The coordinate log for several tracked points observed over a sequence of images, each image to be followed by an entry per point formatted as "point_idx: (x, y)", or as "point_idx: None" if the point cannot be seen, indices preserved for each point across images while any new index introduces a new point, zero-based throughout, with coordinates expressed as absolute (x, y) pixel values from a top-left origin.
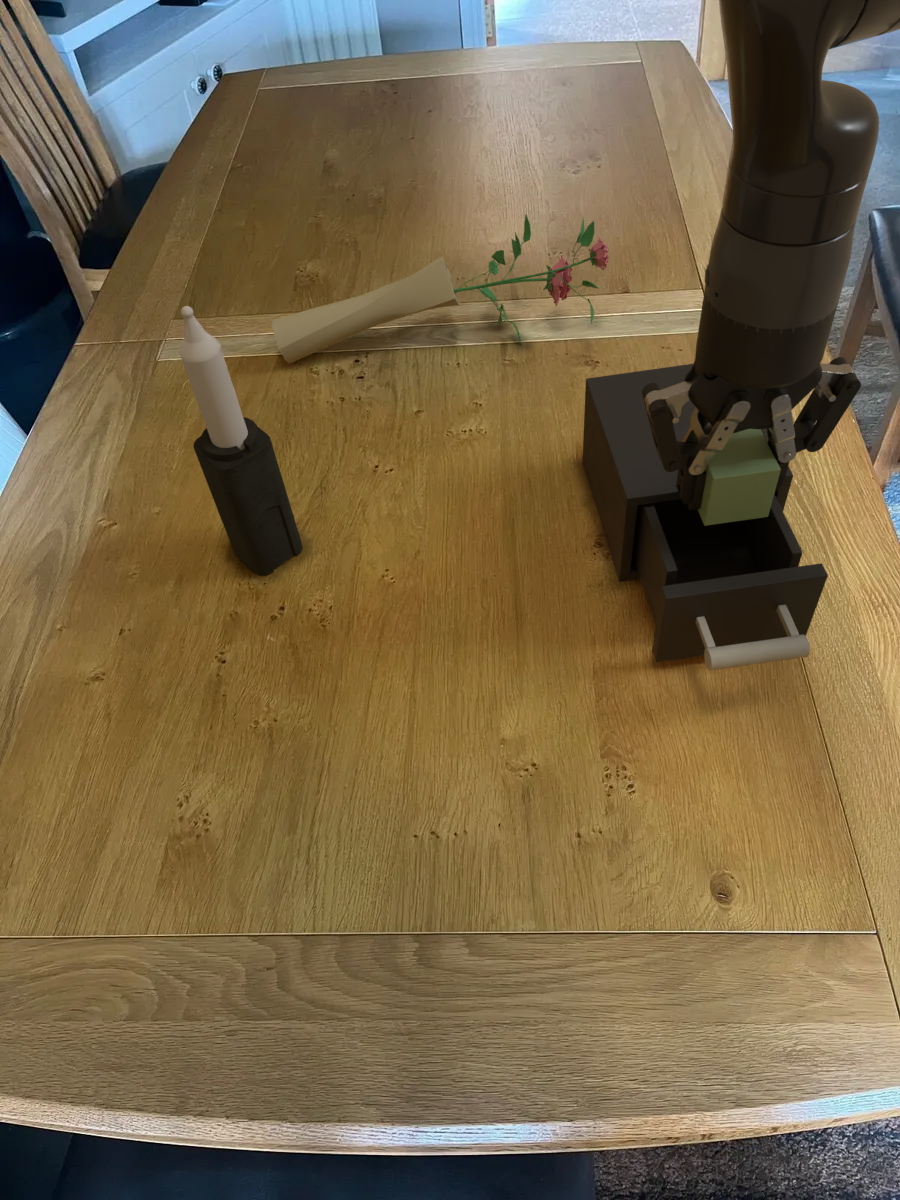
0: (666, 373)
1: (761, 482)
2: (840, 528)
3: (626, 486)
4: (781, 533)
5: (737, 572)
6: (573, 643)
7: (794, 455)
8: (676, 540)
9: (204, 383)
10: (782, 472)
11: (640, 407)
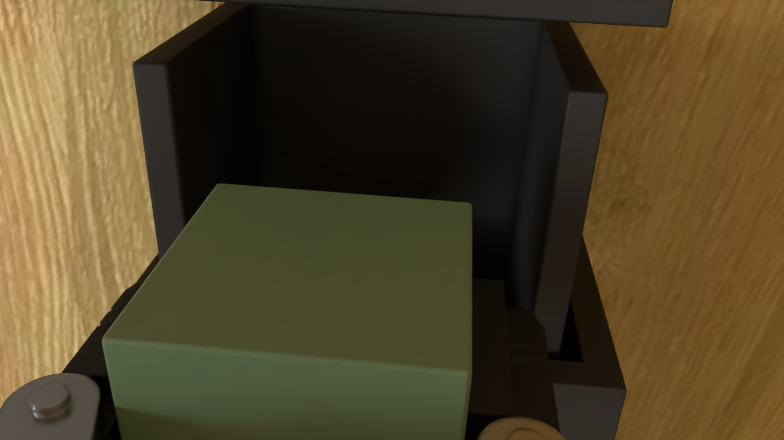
0: None
1: (215, 300)
2: (46, 216)
3: (606, 430)
4: (180, 156)
5: (309, 140)
6: (764, 53)
7: (15, 397)
8: None
9: None
10: None
11: None
